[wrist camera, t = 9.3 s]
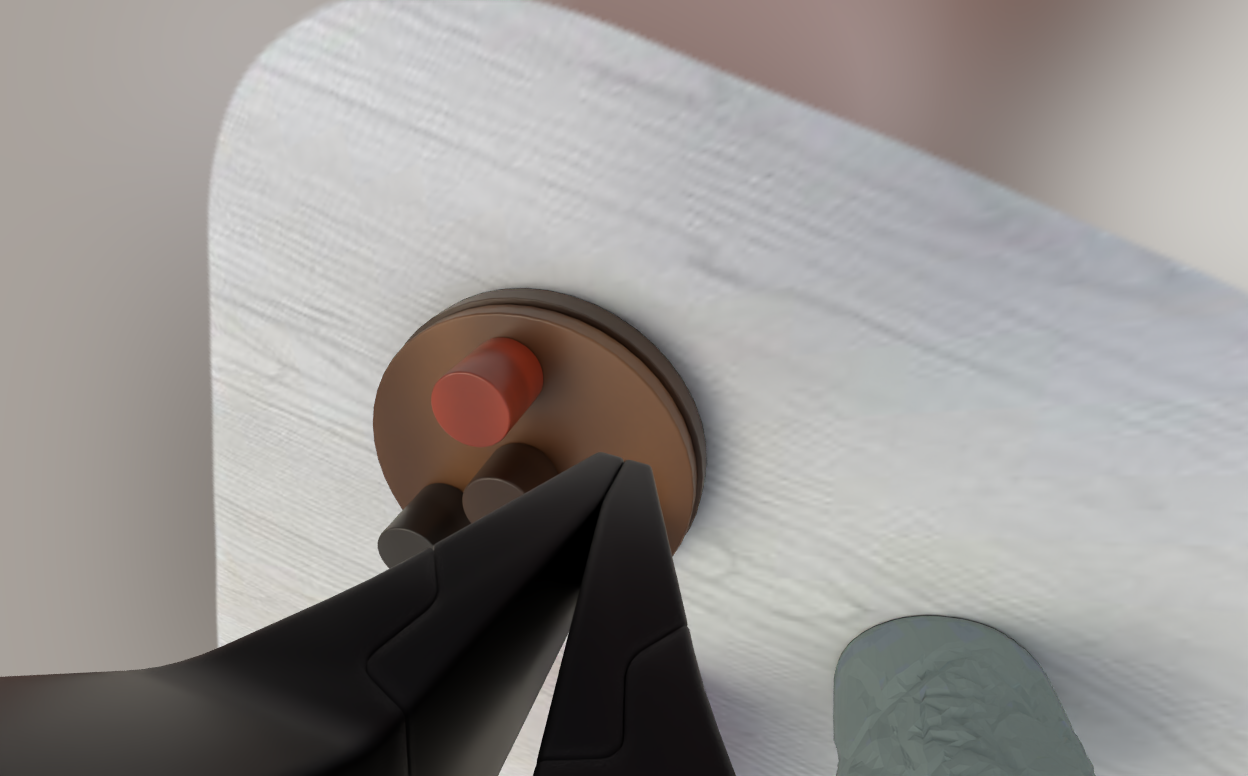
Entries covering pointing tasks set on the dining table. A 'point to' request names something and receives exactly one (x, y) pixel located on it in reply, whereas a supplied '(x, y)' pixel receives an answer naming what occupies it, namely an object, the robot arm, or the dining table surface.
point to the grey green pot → (948, 705)
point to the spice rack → (516, 420)
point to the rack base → (619, 333)
